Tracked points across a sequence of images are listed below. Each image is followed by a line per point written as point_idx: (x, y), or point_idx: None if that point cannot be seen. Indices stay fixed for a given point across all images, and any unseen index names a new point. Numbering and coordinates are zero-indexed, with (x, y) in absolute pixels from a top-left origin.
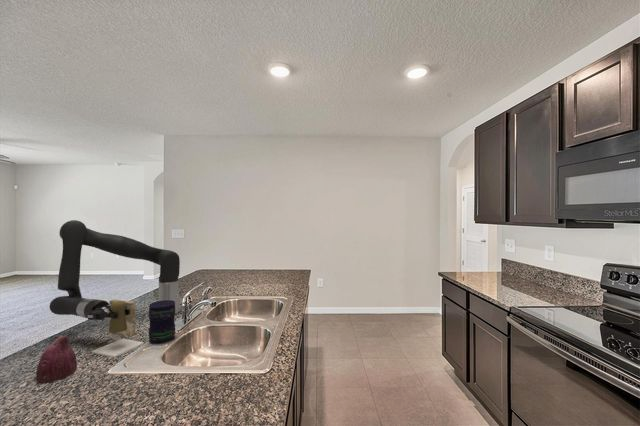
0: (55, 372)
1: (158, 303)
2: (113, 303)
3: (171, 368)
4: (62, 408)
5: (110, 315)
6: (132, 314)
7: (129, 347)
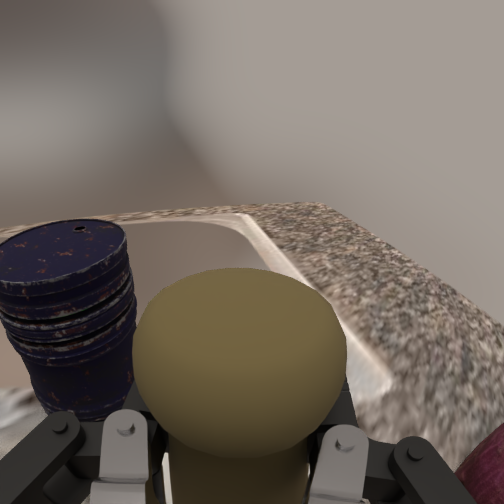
0: None
1: (36, 260)
2: (324, 314)
3: None
4: (486, 333)
5: (348, 405)
6: None
7: None
